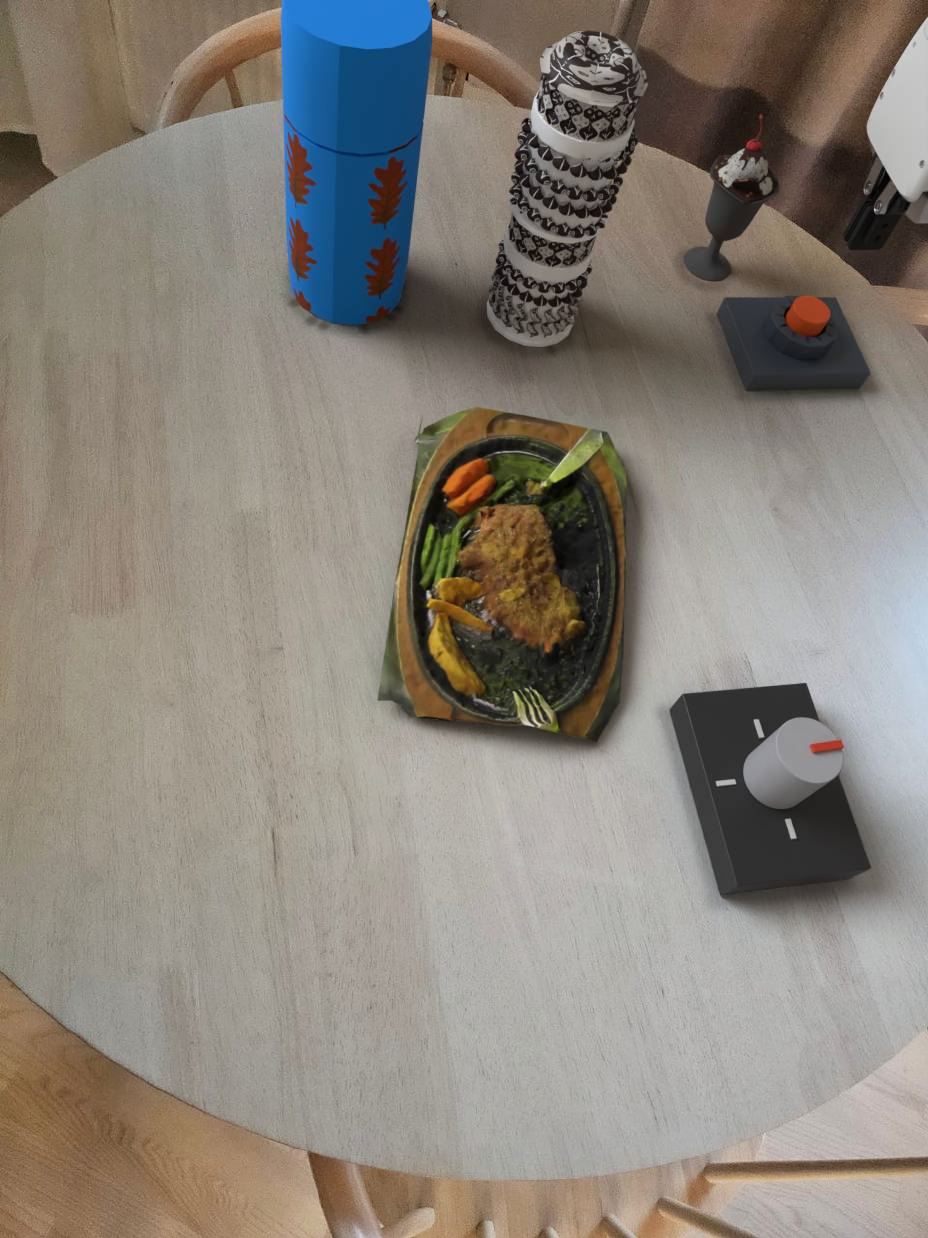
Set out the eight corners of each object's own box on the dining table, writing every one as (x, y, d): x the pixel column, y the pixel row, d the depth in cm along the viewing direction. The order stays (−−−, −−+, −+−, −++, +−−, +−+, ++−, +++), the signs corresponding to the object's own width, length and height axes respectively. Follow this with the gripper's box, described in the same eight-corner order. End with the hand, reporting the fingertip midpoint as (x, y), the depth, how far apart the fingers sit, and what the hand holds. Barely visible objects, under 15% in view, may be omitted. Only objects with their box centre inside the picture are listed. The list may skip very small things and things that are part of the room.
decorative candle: (573, 359, 88) (659, 102, 66) (475, 337, 87) (530, 71, 66) (582, 292, 92) (666, 31, 71) (489, 271, 92) (545, 2, 70)
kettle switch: (814, 309, 90) (823, 295, 89) (827, 337, 89) (836, 323, 87) (780, 309, 90) (788, 295, 88) (792, 337, 88) (800, 323, 87)
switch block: (825, 313, 96) (845, 282, 92) (859, 389, 91) (881, 359, 88) (715, 314, 94) (731, 282, 90) (745, 391, 89) (762, 360, 85)
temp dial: (755, 814, 65) (792, 786, 60) (734, 751, 67) (768, 720, 62) (815, 804, 66) (856, 776, 61) (792, 743, 68) (830, 711, 63)
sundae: (704, 233, 99) (763, 96, 86) (750, 272, 97) (818, 138, 84) (661, 255, 97) (716, 117, 84) (708, 296, 95) (771, 161, 82)
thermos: (332, 342, 84) (339, 66, 63) (264, 269, 88) (249, -18, 66) (427, 298, 89) (465, 25, 67) (359, 229, 92) (374, -52, 70)
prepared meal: (634, 729, 66) (379, 691, 64) (619, 749, 69) (374, 713, 67) (630, 431, 81) (422, 393, 79) (618, 458, 84) (417, 422, 82)
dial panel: (668, 709, 72) (683, 692, 69) (789, 698, 74) (807, 681, 71) (719, 896, 65) (737, 886, 62) (850, 879, 67) (873, 868, 64)
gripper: (1085, 89, 62) (934, 304, 78) (991, -35, 69) (869, 186, 85) (984, 86, 61) (851, 307, 77) (898, -40, 68) (793, 186, 84)
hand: (861, 243), depth 81 cm, fingers closed
